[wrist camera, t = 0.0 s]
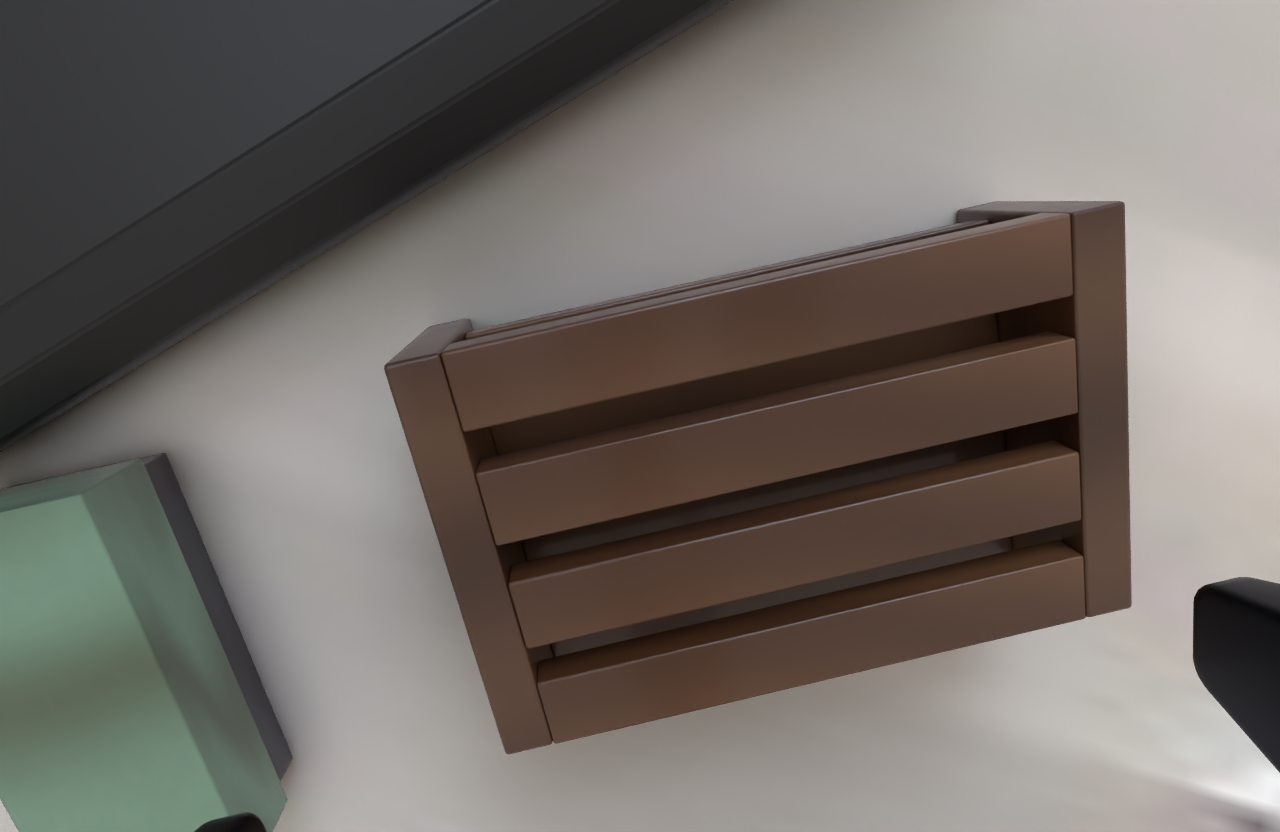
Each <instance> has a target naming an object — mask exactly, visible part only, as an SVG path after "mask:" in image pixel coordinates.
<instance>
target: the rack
mask: <svg viewBox="0 0 1280 832" xmlns="http://www.w3.org/2000/svg"><path fill="white" fill-rule="evenodd" d="M957 218H958V223H957V224H953V225H948V226H944V227H939V228H935V229H930V230H926V231H921V232H917V233H912V234H908V235H903V236H899V237H894V238H890V239H885V240H881V241H876V242H871V243H867V244H862V245H858V246H853V247H849V248H844V249H840V250H835V251H831V252H826V253H822V254H817V255H813V256H808V257H804V258H799V259H795V260H790V261H786V262H781V263H776V264H772V265H767V266H763V267H758V268H754V269H749V270H745V271H740V272H736V273H731V274H727V275H722V276H718V277H713V278H709V279H704V280H700V281H695V282H690V283H686V284H681V285H677V286H672V287H668V288H663V289H659V290H654V291H650V292H645V293H641V294H636V295H632V296H627V297H623V298H618V299H614V300H609V301H604V302H600V303H595V304H591V305H586V306H582V307H577V308H573V309H568V310H564V311H559V312H555V313H550V314H546V315H541V316H537V317H532V318H528V319H523V320H519V321H514V322H509V323H505V324H500V325H496V326H491V327H487V328H482V329H478V330H473V327H472V323H471V320H470V319H467V318H466V319H461V320H457V321H452V322H448V323H443V324H439V325H434V326H430V327H428V328H427V329H426V330H425V331H423V332H422V333H421V334H420V335H419V336H418V337H417V338H415V339H414V340H413V341H412V342H411V343H410V344H409V345H407V346H406V347H405V348H404V349H403V350H402V351H401V352H399V353H398V354H397V355H396V356H395V357H394V358H393V359H391V360H390V361H389V362H388V363H387V364H386V365H385V366H384V370H385V373H386V376H387V379H388V383H389V386H390V389H391V392H392V395H393V398H394V402H395V405H396V408H397V411H398V414H399V417H400V421H401V424H402V427H403V430H404V433H405V436H406V440H407V443H408V446H409V449H410V452H411V455H412V459H413V462H414V465H415V468H416V471H417V474H418V478H419V481H420V484H421V487H422V490H423V493H424V497H425V500H426V503H427V506H428V509H429V512H430V516H431V519H432V522H433V525H434V528H435V531H436V535H437V538H438V541H439V544H440V547H441V550H442V554H443V557H444V560H445V563H446V566H447V569H448V573H449V576H450V579H451V582H452V585H453V588H454V592H455V595H456V598H457V601H458V604H459V607H460V610H461V614H462V617H463V620H464V623H465V626H466V629H467V633H468V636H469V639H470V642H471V645H472V648H473V652H474V655H475V658H476V661H477V664H478V667H479V671H480V674H481V677H482V680H483V683H484V686H485V690H486V693H487V696H488V699H489V702H490V705H491V709H492V712H493V715H494V718H495V721H496V724H497V728H498V731H499V734H500V737H501V740H502V743H503V747H504V750H505V752H506V754H512V753H517V752H521V751H525V750H529V749H534V748H538V747H542V746H546V745H550V744H552V741H553V742H554V743H561V742H565V741H569V740H573V739H578V738H582V737H586V736H590V735H594V734H599V733H603V732H607V731H611V730H616V729H620V728H624V727H628V726H633V725H637V724H641V723H645V722H649V721H654V720H658V719H662V718H666V717H671V716H675V715H679V714H683V713H687V712H692V711H696V710H700V709H704V708H709V707H713V706H717V705H721V704H726V703H730V702H734V701H738V700H742V699H747V698H751V697H755V696H759V695H764V694H768V693H772V692H776V691H780V690H785V689H789V688H793V687H797V686H802V685H806V684H810V683H814V682H819V681H823V680H827V679H831V678H835V677H840V676H844V675H848V674H852V673H857V672H861V671H865V670H869V669H873V668H878V667H882V666H886V665H890V664H895V663H899V662H903V661H907V660H912V659H916V658H920V657H924V656H928V655H933V654H937V653H941V652H945V651H950V650H954V649H958V648H962V647H966V646H971V645H975V644H979V643H983V642H988V641H992V640H996V639H1000V638H1005V637H1009V636H1013V635H1017V634H1021V633H1026V632H1030V631H1034V630H1038V629H1043V628H1047V627H1051V626H1055V625H1059V624H1064V623H1068V622H1072V621H1076V620H1081V619H1084V618H1085V617H1092V616H1096V615H1101V614H1105V613H1109V612H1113V611H1118V610H1122V609H1126V608H1129V607H1131V550H1130V491H1129V432H1128V373H1127V315H1126V256H1125V205H1124V203H1123V202H1120V201H1028V202H992V203H987V204H983V205H978V206H974V207H969V208H965V209H960V210H959V211H958V212H957Z"/></svg>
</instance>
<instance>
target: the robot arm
mask: <svg viewBox="0 0 1280 832" xmlns="http://www.w3.org/2000/svg"><path fill="white" fill-rule="evenodd" d="M1193 661H1194V665H1195V669H1196V671H1197V674H1198V676H1199V678H1200V680H1201V681H1202V683H1203V684H1204V686H1205V687H1206V688H1207V690H1208V691H1209V692H1210V693H1211V694H1212V695H1213V697H1214V698H1215V699H1216V700H1217V701H1218V702H1219V703H1220V705H1221V706H1222V707H1223V708H1224V709H1225V710H1226V712H1227V713H1228V714H1229V715H1230V716H1231V717H1232V718H1233V720H1234V721H1235V722H1236V723H1237V724H1238V725H1239V726H1240V728H1241V729H1242V730H1243V731H1244V732H1245V733H1246V734H1247V736H1248V737H1249V738H1250V739H1251V740H1252V741H1253V742H1254V744H1255V745H1256V746H1257V747H1258V748H1259V749H1260V750H1261V752H1262V753H1263V754H1264V755H1265V756H1266V757H1267V758H1268V760H1269V761H1270V762H1271V763H1272V764H1273V765H1274V766H1275V768H1276V769H1277V770H1278V771H1279V772H1280V584H1278V583H1273V582H1269V581H1264V580H1259V579H1255V578H1249V577H1238V578H1233V579H1229V580H1225V581H1220V582H1216V583H1212V584H1208V585H1205V586H1203V587H1202V588H1200V589H1199V590H1198V591H1197V593H1196V595H1195V597H1194V613H1193ZM194 832H267V831H266V829H265V826H264V824H263V822H262V821H261V819H260V818H259V817H258V816H257V815H256V814H254V813H250V812H244V813H239V814H235V815H231V816H227V817H222V818H218V819H214V820H211V821H208V822H206V823H204V824H203V825H201V826H200V827H199V828H198V829H196V830H195V831H194Z"/></svg>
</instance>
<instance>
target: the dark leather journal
mask: <svg viewBox="0 0 1280 832" xmlns="http://www.w3.org/2000/svg"><path fill="white" fill-rule="evenodd" d="M732 1H734V0H0V451H2V450H4V449H5V448H7V447H8V446H10V445H12V444H13V443H15V442H17V441H18V440H20V439H21V438H23V437H25V436H26V435H28V434H30V433H31V432H33V431H34V430H36V429H38V428H39V427H41V426H43V425H44V424H46V423H47V422H49V421H51V420H52V419H54V418H56V417H57V416H59V415H60V414H62V413H64V412H65V411H67V410H69V409H70V408H72V407H73V406H75V405H77V404H78V403H80V402H82V401H83V400H85V399H86V398H88V397H90V396H91V395H93V394H95V393H96V392H98V391H99V390H101V389H103V388H104V387H106V386H108V385H109V384H111V383H112V382H114V381H116V380H117V379H119V378H121V377H122V376H124V375H125V374H127V373H129V372H130V371H132V370H134V369H135V368H137V367H138V366H140V365H142V364H143V363H145V362H147V361H148V360H150V359H151V358H153V357H155V356H156V355H158V354H160V353H161V352H163V351H165V350H166V349H168V348H169V347H171V346H173V345H174V344H176V343H178V342H179V341H181V340H182V339H184V338H186V337H187V336H189V335H191V334H192V333H194V332H195V331H197V330H199V329H200V328H202V327H204V326H205V325H207V324H208V323H210V322H212V321H213V320H215V319H217V318H218V317H220V316H221V315H223V314H225V313H226V312H228V311H230V310H231V309H233V308H234V307H236V306H238V305H239V304H241V303H243V302H244V301H246V300H247V299H249V298H251V297H252V296H254V295H256V294H257V293H259V292H260V291H262V290H264V289H265V288H267V287H269V286H270V285H272V284H273V283H275V282H277V281H278V280H280V279H282V278H283V277H285V276H286V275H288V274H290V273H291V272H293V271H295V270H296V269H298V268H299V267H301V266H303V265H304V264H306V263H308V262H309V261H311V260H312V259H314V258H316V257H317V256H319V255H321V254H322V253H324V252H325V251H327V250H329V249H330V248H332V247H334V246H335V245H337V244H338V243H340V242H342V241H343V240H345V239H347V238H348V237H350V236H351V235H353V234H355V233H356V232H358V231H360V230H361V229H363V228H364V227H366V226H368V225H369V224H371V223H373V222H374V221H376V220H377V219H379V218H381V217H382V216H384V215H386V214H387V213H389V212H390V211H392V210H394V209H395V208H397V207H399V206H400V205H402V204H403V203H405V202H407V201H408V200H410V199H412V198H413V197H415V196H416V195H418V194H420V193H421V192H423V191H425V190H426V189H428V188H429V187H431V186H433V185H434V184H436V183H438V182H439V181H441V180H442V179H444V178H446V177H447V176H449V175H451V174H452V173H454V172H455V171H457V170H459V169H460V168H462V167H464V166H465V165H467V164H468V163H470V162H472V161H473V160H475V159H477V158H478V157H480V156H481V155H483V154H485V153H486V152H488V151H490V150H491V149H493V148H494V147H496V146H498V145H499V144H501V143H503V142H504V141H506V140H507V139H509V138H511V137H512V136H514V135H516V134H517V133H519V132H520V131H522V130H524V129H525V128H527V127H529V126H530V125H532V124H534V123H535V122H537V121H538V120H540V119H542V118H543V117H545V116H547V115H548V114H550V113H551V112H553V111H555V110H556V109H558V108H560V107H561V106H563V105H564V104H566V103H568V102H569V101H571V100H573V99H574V98H576V97H577V96H579V95H581V94H582V93H584V92H586V91H587V90H589V89H590V88H592V87H594V86H595V85H597V84H599V83H600V82H602V81H603V80H605V79H607V78H608V77H610V76H612V75H613V74H615V73H616V72H618V71H620V70H621V69H623V68H625V67H626V66H628V65H629V64H631V63H633V62H634V61H636V60H638V59H639V58H641V57H643V56H644V55H646V54H647V53H649V52H651V51H652V50H654V49H656V48H657V47H659V46H660V45H662V44H664V43H665V42H667V41H669V40H670V39H672V38H673V37H675V36H677V35H678V34H680V33H682V32H683V31H685V30H686V29H688V28H690V27H691V26H693V25H695V24H696V23H698V22H699V21H701V20H703V19H704V18H706V17H708V16H709V15H711V14H712V13H714V12H716V11H717V10H719V9H721V8H722V7H724V6H725V5H727V4H729V3H730V2H732Z"/></svg>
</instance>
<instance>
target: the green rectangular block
mask: <svg viewBox="0 0 1280 832" xmlns="http://www.w3.org/2000/svg"><path fill="white" fill-rule="evenodd" d="M291 760H292V755H291V753H290V750H289V748H288V746H287V743H286V741H285V738H284V736H283V734H282V731H281V729H280V726H279V724H278V722H277V719H276V717H275V714H274V712H273V710H272V707H271V705H270V703H269V700H268V698H267V695H266V693H265V691H264V688H263V686H262V683H261V681H260V679H259V676H258V674H257V671H256V669H255V667H254V664H253V662H252V659H251V657H250V655H249V652H248V650H247V647H246V645H245V643H244V640H243V638H242V636H241V633H240V631H239V628H238V626H237V624H236V621H235V619H234V616H233V614H232V612H231V609H230V607H229V604H228V602H227V600H226V597H225V595H224V592H223V590H222V588H221V585H220V583H219V581H218V578H217V576H216V573H215V571H214V569H213V566H212V564H211V561H210V559H209V557H208V554H207V552H206V549H205V547H204V545H203V542H202V540H201V537H200V535H199V533H198V530H197V528H196V526H195V523H194V521H193V518H192V516H191V514H190V511H189V509H188V506H187V504H186V502H185V499H184V497H183V494H182V492H181V490H180V487H179V485H178V482H177V480H176V478H175V475H174V473H173V470H172V468H171V466H170V463H169V461H168V459H167V456H166V454H165V453H161V454H157V455H152V456H148V457H143V458H139V459H134V460H130V461H125V462H121V463H116V464H112V465H107V466H103V467H98V468H94V469H89V470H85V471H80V472H76V473H72V474H67V475H63V476H58V477H54V478H49V479H45V480H40V481H36V482H31V483H27V484H22V485H18V486H13V487H9V488H5V489H1V490H0V799H1V801H2V803H3V805H4V806H5V808H6V810H7V812H8V813H9V815H10V817H11V819H12V821H13V822H14V824H15V826H16V828H17V829H18V831H19V832H194V831H195V830H196V829H198V828H199V827H200V826H201V825H203V824H204V823H206V822H208V821H211V820H214V819H218V818H222V817H227V816H231V815H235V814H239V813H244V812H250V813H254V814H256V815H257V816H258V817H259V818H260V819H261V821H262V822H263V824H264V826H265V829H266V831H267V832H273V830H274V828H275V826H276V823H277V821H278V819H279V817H280V815H281V813H282V811H283V809H284V807H285V804H286V802H287V797H286V794H285V792H284V790H283V787H282V785H281V783H280V782H281V780H282V778H283V776H284V774H285V772H286V770H287V768H288V766H289V764H290V762H291Z"/></svg>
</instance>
